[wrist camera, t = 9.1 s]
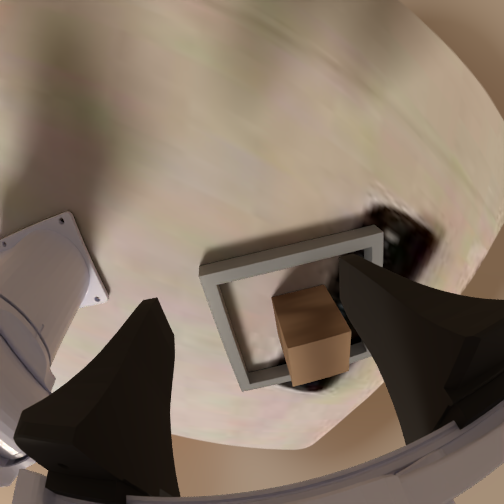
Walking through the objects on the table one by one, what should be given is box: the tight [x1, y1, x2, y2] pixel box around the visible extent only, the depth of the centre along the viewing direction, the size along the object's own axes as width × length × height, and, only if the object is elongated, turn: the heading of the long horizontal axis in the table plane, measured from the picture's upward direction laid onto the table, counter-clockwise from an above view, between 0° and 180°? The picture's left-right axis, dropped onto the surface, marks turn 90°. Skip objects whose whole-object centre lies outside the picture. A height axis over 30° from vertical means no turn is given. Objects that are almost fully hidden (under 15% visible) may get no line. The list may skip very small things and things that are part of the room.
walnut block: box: [272, 285, 351, 386], centre depth 22 cm, size 4×4×6 cm
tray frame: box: [199, 225, 383, 392], centre depth 25 cm, size 14×14×2 cm
